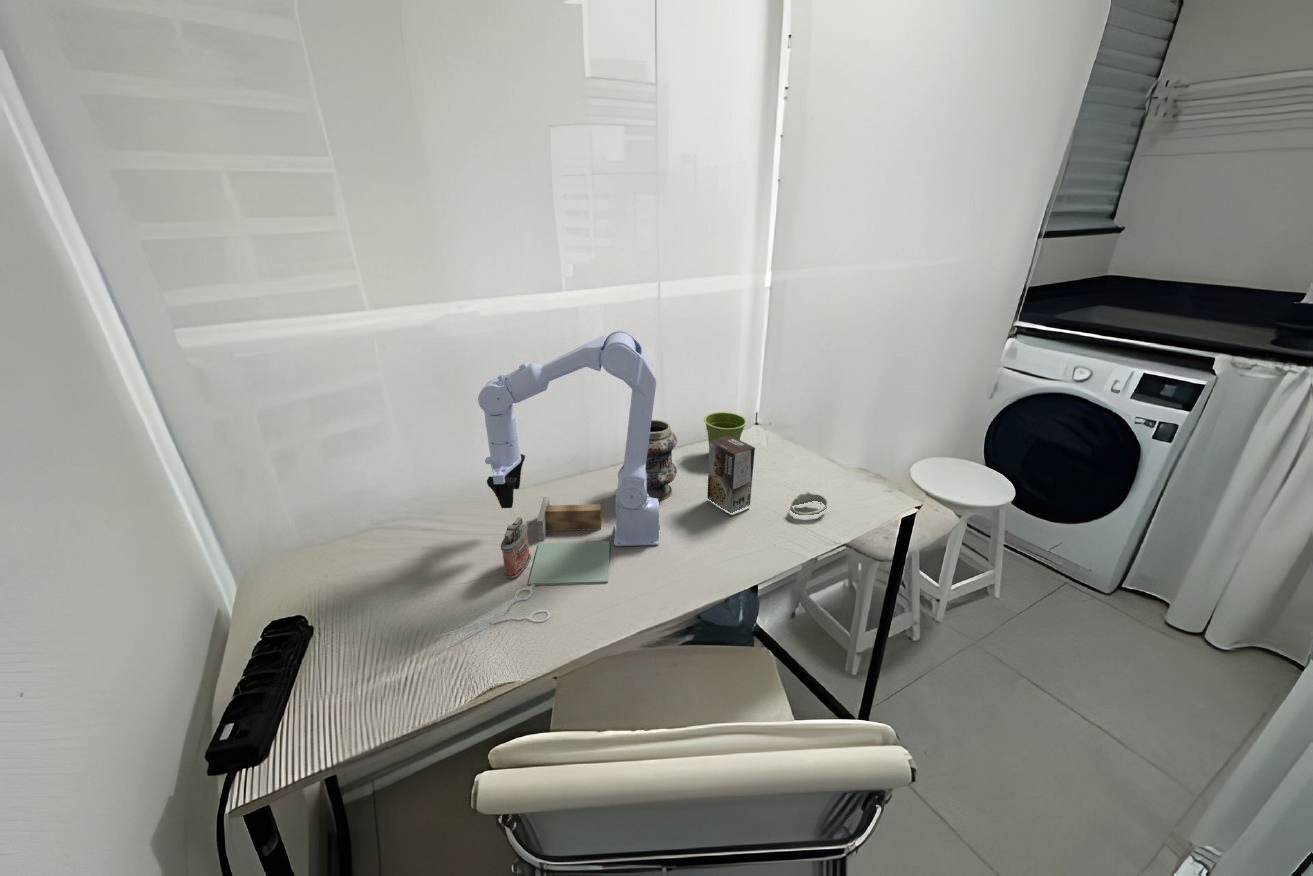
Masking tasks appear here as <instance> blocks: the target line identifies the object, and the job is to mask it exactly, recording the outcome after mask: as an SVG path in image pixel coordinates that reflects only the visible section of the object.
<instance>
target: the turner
mask: <svg viewBox="0 0 1313 876" xmlns="http://www.w3.org/2000/svg"><path fill="white" fill-rule="evenodd" d="M541 501H542V502H541V505H540V509H539V512H538V516H537V520H536V525H537V526H536V528H537V535H538V541H545V540H546V535H547V532H549V531H580V530H581V531H583V530H582V529H594V530H602V505H601V503H599V504H597V503H596V504H559V505H550V497H549V496H543V497H542V500H541ZM578 529H579V530H578Z"/></svg>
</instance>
